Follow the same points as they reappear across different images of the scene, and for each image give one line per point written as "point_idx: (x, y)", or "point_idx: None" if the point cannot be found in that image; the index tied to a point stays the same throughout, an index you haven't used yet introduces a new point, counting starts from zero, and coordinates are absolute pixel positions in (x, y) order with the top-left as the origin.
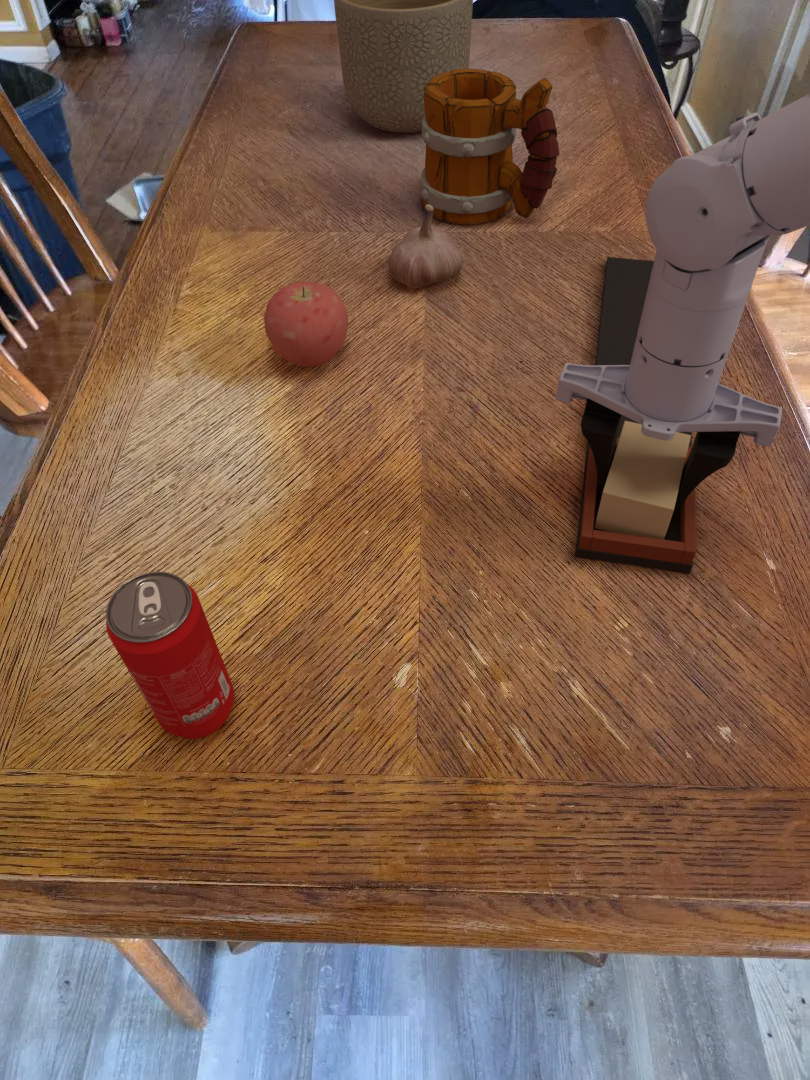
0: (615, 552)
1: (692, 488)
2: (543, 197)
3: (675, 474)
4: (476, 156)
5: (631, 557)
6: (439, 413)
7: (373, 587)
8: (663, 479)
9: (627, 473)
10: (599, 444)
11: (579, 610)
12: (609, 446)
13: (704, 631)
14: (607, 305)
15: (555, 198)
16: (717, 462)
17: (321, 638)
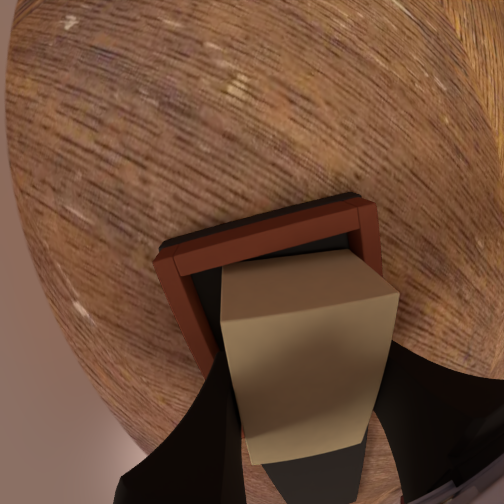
0: (298, 212)
1: (203, 390)
2: (401, 501)
3: (251, 406)
4: (452, 497)
5: (266, 218)
6: (491, 331)
7: (501, 81)
8: (272, 388)
9: (352, 367)
10: (461, 387)
11: (311, 87)
12: (443, 396)
13: (110, 140)
14: (355, 486)
15: (385, 499)
16: (140, 490)
17: (495, 26)
